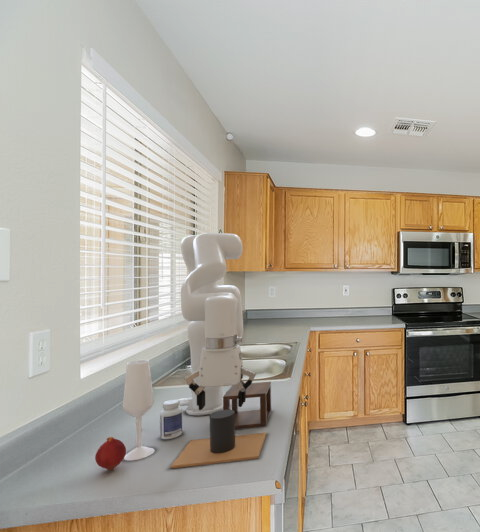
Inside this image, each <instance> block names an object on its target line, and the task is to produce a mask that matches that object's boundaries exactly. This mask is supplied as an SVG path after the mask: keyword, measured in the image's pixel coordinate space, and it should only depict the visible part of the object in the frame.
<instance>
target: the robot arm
mask: <svg viewBox="0 0 480 532" xmlns="http://www.w3.org/2000/svg"><path fill="white" fill-rule="evenodd" d="M243 245H244V244H243V241H242V239H241V237H240V236H239V235H238V234H236V233H223V232H221V233H220V232H204V233H201V234H200V233H199V234H193V235H187V236H185V237H183V238H182V240H181V242H180V250H181V256H182V259H183V261H184V264H185V267H186V268H187V271H188V273H189V274H188V275H187V276H186V277H185V279H184V280H183V281H182V284H181V287H180V293H179V294H180V310H181V315H182V317H183V319H184V320H186V321H187V322H189V323H188V324H187V330H186V331H187V338H188V344H189V350H190V375H187V376H186V377H185V378H184V382H186V384H187V386H188V388H189V389H190V390H191V393H190V394H191V396H189V397H188V398H178V400H179V407H185V406H187V407H186V410H185V411H186V414H187V415H189V416H196V417H197V416H207V415H211V414H212V413H214V412H217V411H220V410H223V396H224V394H223V391H224V390H223V387H231V386H232V385H235V386H236V387H237V388H238V389H239V390H240V391H239V392H238V408H241V407H243V406H244V403H246V399H247V398H246V389H247V388H248V387H249V386H250V385H251V383H253V381H254V379H255V378H256V376H257V372H256V371H254V370H251V369H248V368H246V367H244V364H243V355H242V349H241V345H239V343H243V336H244V316H243V301H242V300H243V299H242V294H241V291H240V288H238V286H236V285H232V284H231V285H229V284H228V285H226V284H225V285H219V283H218V282H219V280H222V278H224V277H225V276H226V274H227V271H228V267H227V262H226V260H239V259H241V257H242V255H243V253H244V246H243ZM244 375H245V376H247V377H248V379H247V380H246V381H244V380H242V379H244V378H243V377H244Z"/></svg>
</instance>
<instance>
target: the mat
mask: <svg viewBox="0 0 480 532" xmlns="http://www.w3.org/2000/svg"><path fill="white" fill-rule="evenodd" d="M267 435H268V434H267V432H258V433H257V432H256V433H250V434H248V433H247V434H238V435H235V447H234V448H233V449H232V450H230V451H227V452H224V453H212V452H211V451H210V437H208V438H199V439H191V440H189V442H188V443H187V444H186V445H185V447H184V448H183V449H182V451H181V452H180V453H179V455H178V456H177V457H176V458H175V460H174V461H173V462H172V464H171V465H170V469H178V468H179V469H180V468H188V467H197V466H204V465H205V466H206V465H213V464H215V465H216V464H222V463H231V462H232V463H233V462H240V461H247V460H249V461H250V460H258V459H259V458H260V454H261V452H262V450H263V446H264V444H265V440H266V437H267Z"/></svg>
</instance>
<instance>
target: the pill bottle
mask: <svg viewBox="0 0 480 532" xmlns="http://www.w3.org/2000/svg"><path fill="white" fill-rule="evenodd" d="M159 416H160V417H159V426H160V427H159V430H160V438H161V439H162V440H171V439H175V438H177V437H179V436H181V435H182V434H183V408H182V407H181V406H180V405H179V399H169V400H166V401H164V402H163V403H162V410H161V411H160V413H159Z"/></svg>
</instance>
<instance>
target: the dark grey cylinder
mask: <svg viewBox="0 0 480 532" xmlns="http://www.w3.org/2000/svg"><path fill="white" fill-rule="evenodd" d="M235 436H236V429H235V411H234V410H232V409H230V410H220V411H217V412H214V413H212V414H209V438H210V451H211V452H212V453H224V452H227V451H230V450H232V449H233V448H234V447H235Z"/></svg>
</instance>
